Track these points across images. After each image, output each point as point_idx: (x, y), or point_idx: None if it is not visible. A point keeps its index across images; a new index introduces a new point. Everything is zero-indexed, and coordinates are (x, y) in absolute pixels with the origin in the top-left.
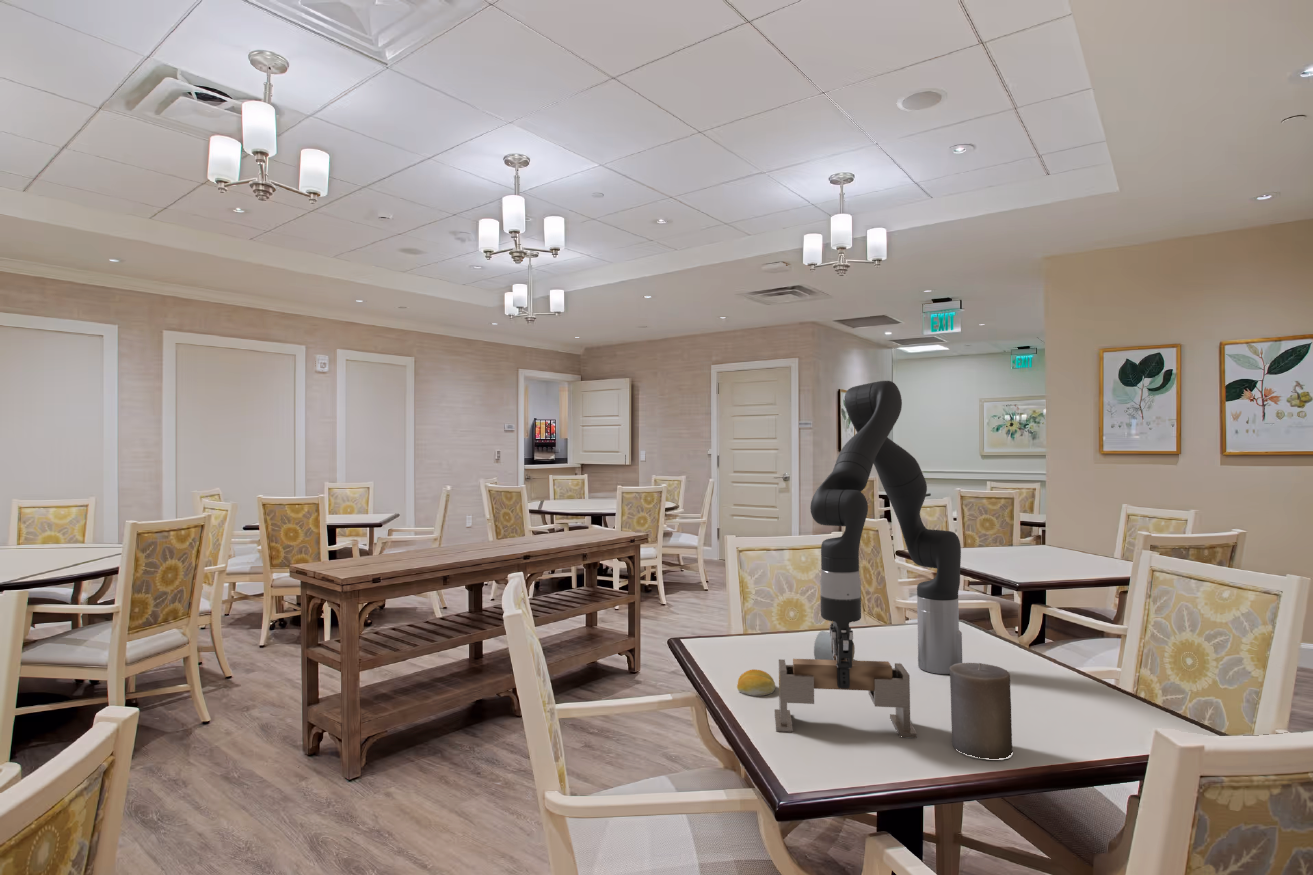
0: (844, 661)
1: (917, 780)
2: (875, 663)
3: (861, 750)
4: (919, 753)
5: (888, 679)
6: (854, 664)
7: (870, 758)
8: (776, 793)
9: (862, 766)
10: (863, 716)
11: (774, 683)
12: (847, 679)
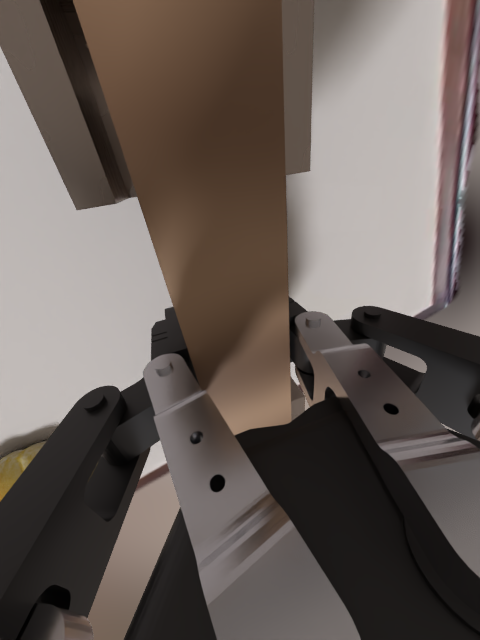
0: (381, 352)
1: (445, 92)
2: (197, 145)
3: (322, 216)
4: (331, 45)
5: (306, 61)
6: (260, 301)
7: (354, 197)
8: (429, 316)
9: (382, 213)
10: (101, 215)
11: (15, 458)
12: (292, 300)
